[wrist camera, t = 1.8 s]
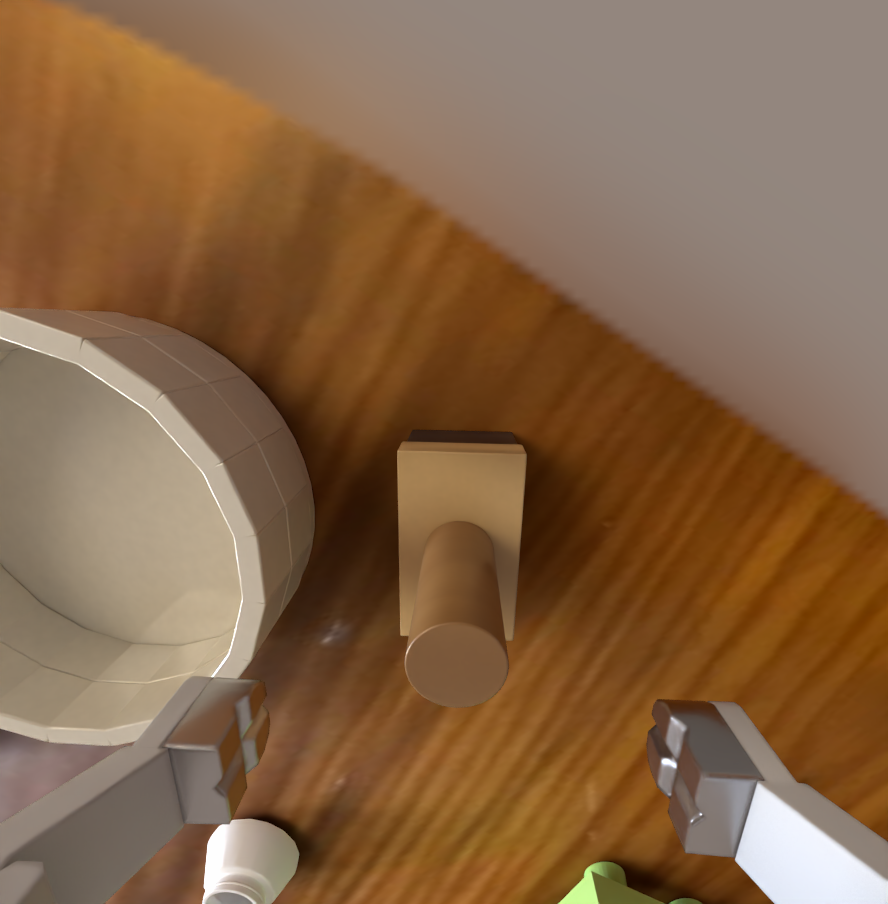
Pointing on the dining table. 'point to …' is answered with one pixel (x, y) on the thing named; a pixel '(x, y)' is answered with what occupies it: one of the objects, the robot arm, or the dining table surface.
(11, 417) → the bowl
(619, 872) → the kettle
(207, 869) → the lidless jar
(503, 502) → the brush
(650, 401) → the dining table surface
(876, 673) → the dining table surface
